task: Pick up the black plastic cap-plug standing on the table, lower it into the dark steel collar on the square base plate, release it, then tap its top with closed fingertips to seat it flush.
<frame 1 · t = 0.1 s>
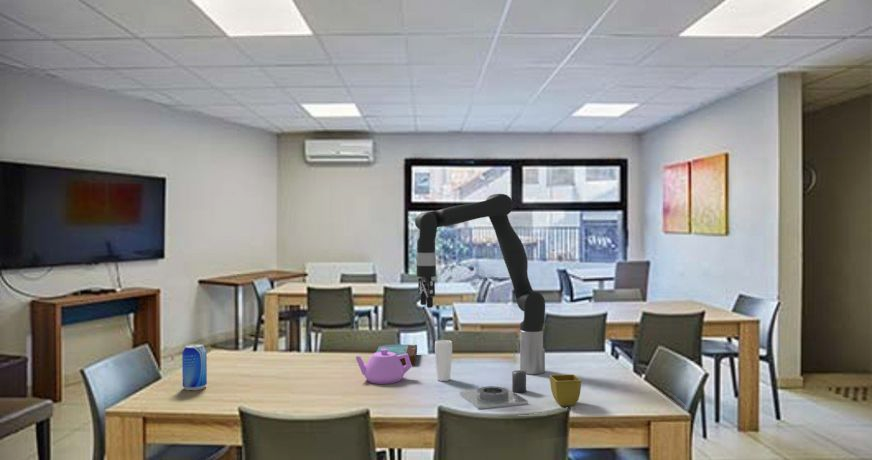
hand: (426, 306, 234), 29 cm above the table, fingers open, 8 cm apart
beer can: (194, 388, 227), on the table
flower pot: (565, 404, 205), on the table
drinking glass: (443, 380, 237), on the table
square base plate: (492, 399, 211), on the table
cap: (519, 391, 221), on the table
teapot: (384, 380, 238), on the table
book: (396, 361, 272), on the table
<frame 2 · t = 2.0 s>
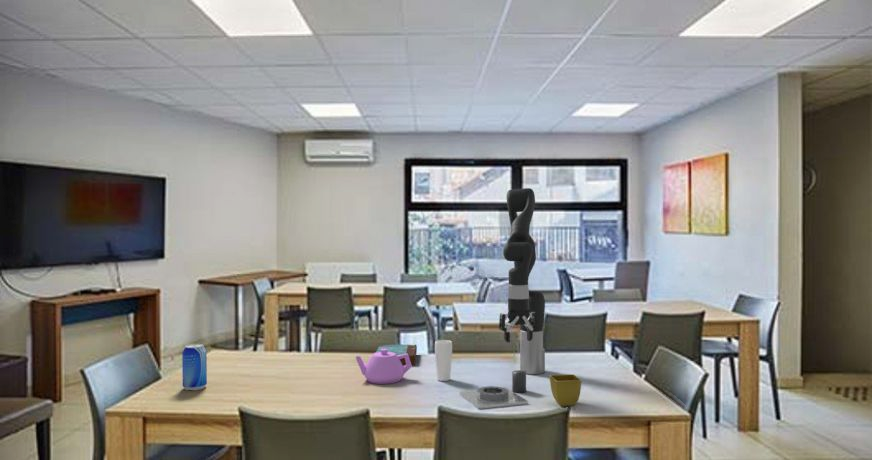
hand: (518, 341, 220), 18 cm above the table, fingers open, 8 cm apart
nothing on the table moved.
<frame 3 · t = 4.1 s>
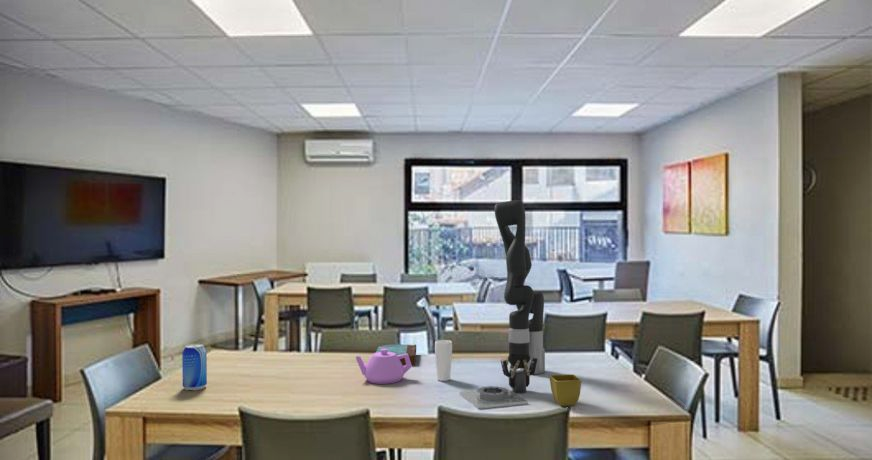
hand: (519, 386, 221), 2 cm above the table, fingers closed on cap, 5 cm apart
cap: (519, 391, 221), on the table, touching gripper
everything else where it was.
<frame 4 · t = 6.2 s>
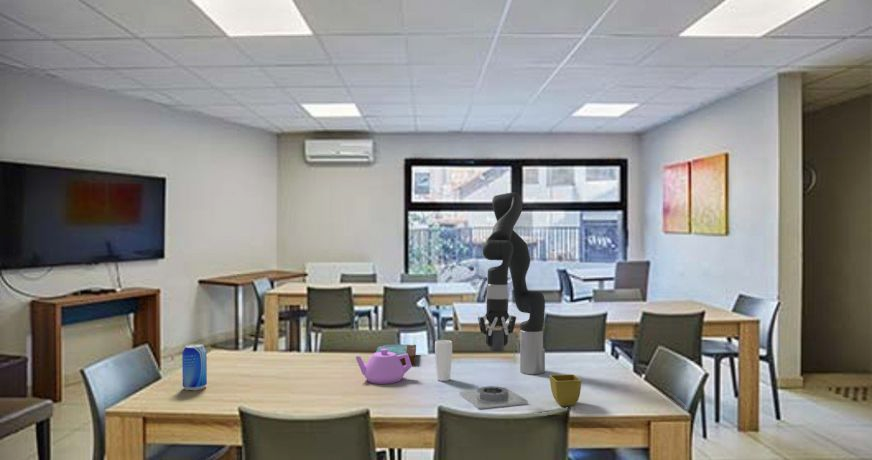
hand: (496, 345, 212), 18 cm above the table, fingers closed on cap, 5 cm apart
cap: (496, 350, 212), point 17 cm above the table, touching gripper
everything else where it was.
when the fingers open (4 cm above the table, at t = 8.5 s): cap drops 1 cm, resting on square base plate.
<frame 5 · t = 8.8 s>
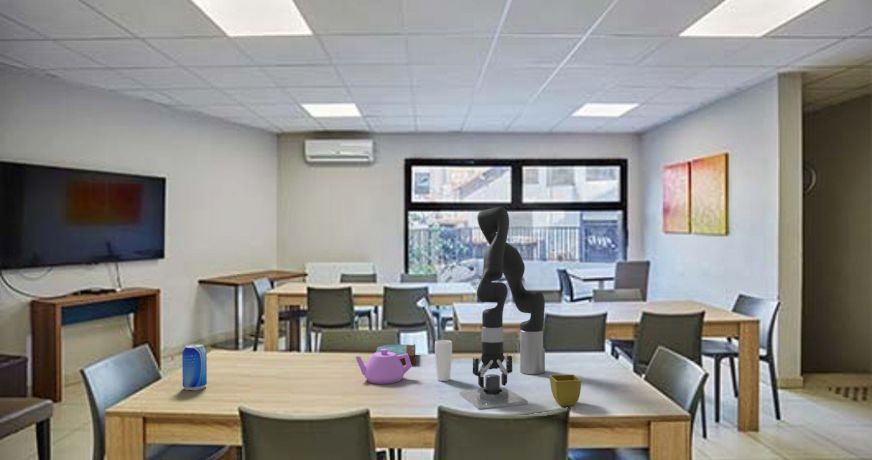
hand: (492, 386, 211), 5 cm above the table, fingers open, 8 cm apart
cap: (492, 396, 211), point 1 cm above the table, touching square base plate
everything else where it was.
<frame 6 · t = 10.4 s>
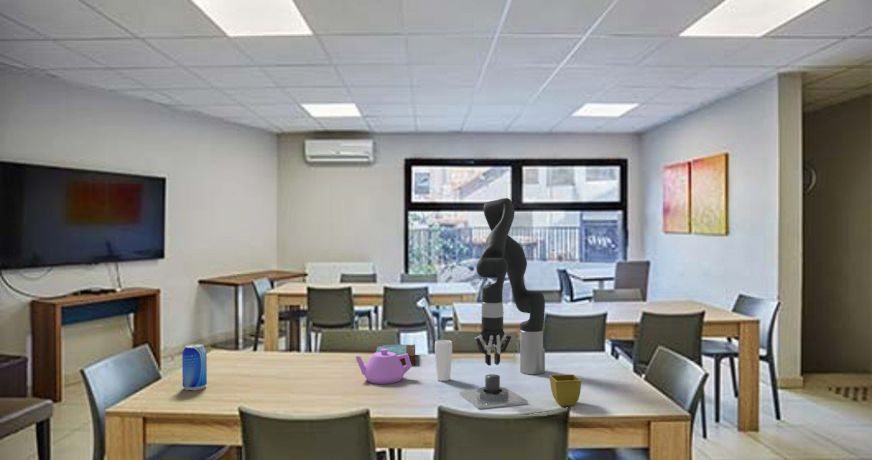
hand: (492, 364, 211), 12 cm above the table, fingers closed
nothing on the table moved.
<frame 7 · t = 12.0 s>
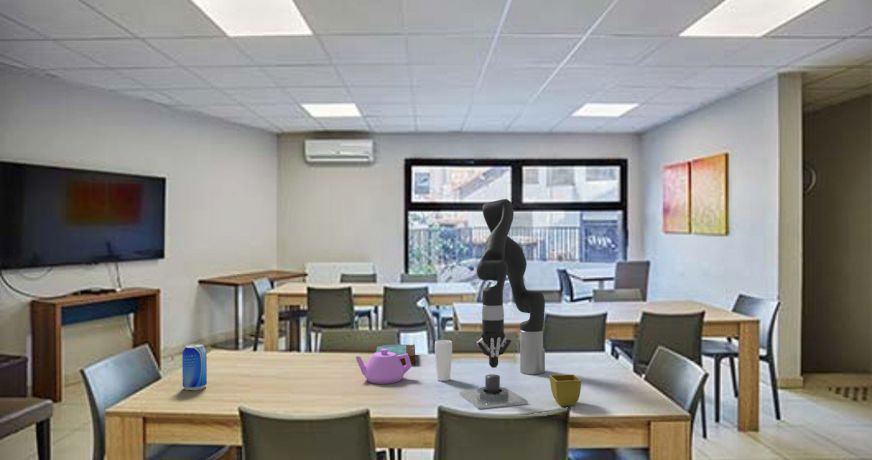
hand: (493, 367, 211), 11 cm above the table, fingers closed
nothing on the table moved.
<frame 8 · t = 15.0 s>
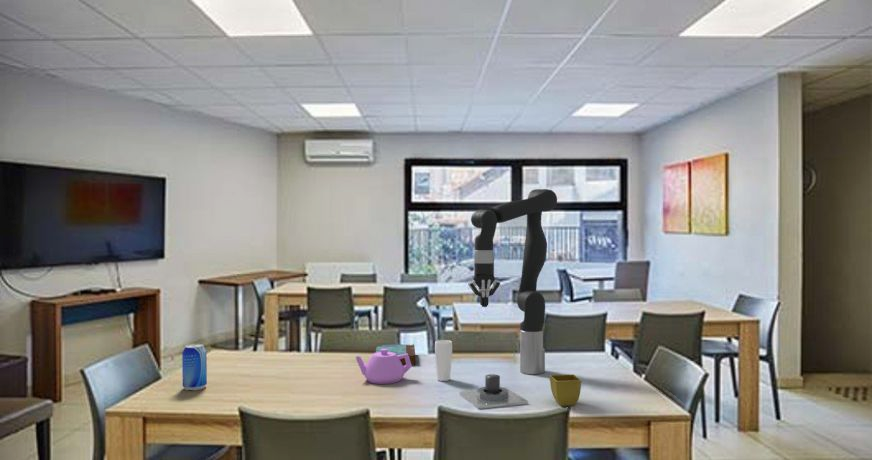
hand: (484, 306, 233), 29 cm above the table, fingers closed
nothing on the table moved.
at the end: cap 0.0 cm off-centre on the square base plate, point 1.0 cm above the square base plate's base; cap tilted 0°; the gripper is holding nothing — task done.
